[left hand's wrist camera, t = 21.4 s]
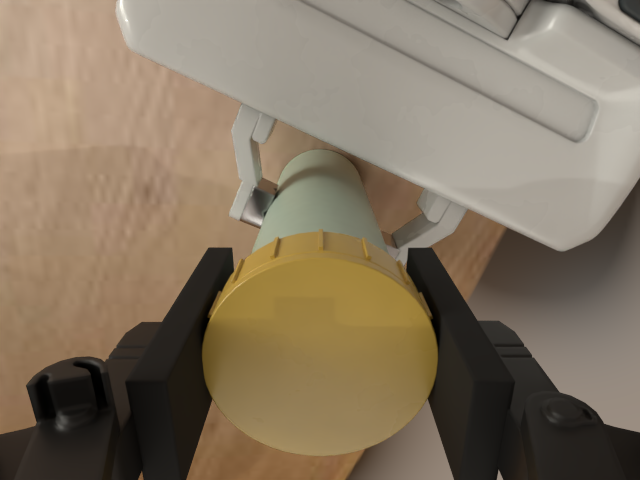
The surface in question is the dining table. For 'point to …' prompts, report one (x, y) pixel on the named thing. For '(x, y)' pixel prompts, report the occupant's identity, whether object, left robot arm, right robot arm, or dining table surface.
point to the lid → (320, 345)
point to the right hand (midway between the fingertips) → (312, 247)
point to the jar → (320, 200)
